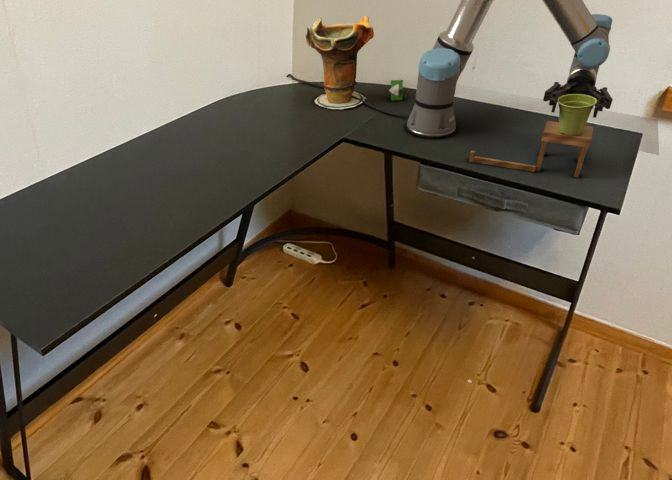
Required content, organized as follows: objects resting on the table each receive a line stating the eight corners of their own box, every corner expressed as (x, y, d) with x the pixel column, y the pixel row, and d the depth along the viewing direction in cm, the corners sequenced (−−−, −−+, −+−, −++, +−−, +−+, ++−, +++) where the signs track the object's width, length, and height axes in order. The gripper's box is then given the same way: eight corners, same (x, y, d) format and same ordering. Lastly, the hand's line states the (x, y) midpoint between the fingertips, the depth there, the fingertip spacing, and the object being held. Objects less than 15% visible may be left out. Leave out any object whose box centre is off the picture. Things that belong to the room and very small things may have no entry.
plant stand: (468, 161, 174) (475, 124, 167) (477, 144, 183) (484, 108, 176) (579, 179, 163) (591, 140, 156) (583, 160, 172) (594, 122, 165)
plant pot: (593, 138, 158) (600, 106, 153) (554, 138, 161) (560, 107, 156) (586, 124, 166) (593, 93, 161) (549, 125, 168) (555, 94, 163)
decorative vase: (308, 89, 225) (308, 9, 208) (370, 91, 222) (375, 9, 205) (301, 110, 209) (301, 25, 192) (368, 112, 205) (374, 25, 188)
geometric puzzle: (384, 88, 218) (388, 74, 210) (403, 87, 217) (407, 74, 210) (386, 105, 216) (389, 92, 208) (405, 105, 216) (409, 92, 208)
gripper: (619, 100, 170) (617, 129, 154) (537, 91, 178) (526, 118, 162) (628, 73, 165) (626, 101, 150) (543, 65, 174) (533, 90, 158)
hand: (574, 110), depth 156 cm, fingers closed on plant pot, 9 cm apart
